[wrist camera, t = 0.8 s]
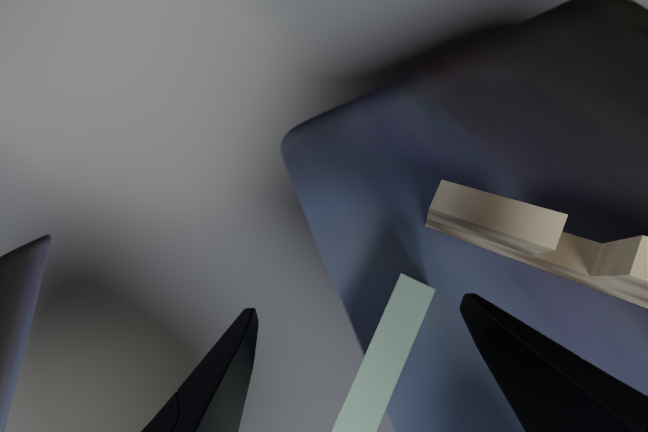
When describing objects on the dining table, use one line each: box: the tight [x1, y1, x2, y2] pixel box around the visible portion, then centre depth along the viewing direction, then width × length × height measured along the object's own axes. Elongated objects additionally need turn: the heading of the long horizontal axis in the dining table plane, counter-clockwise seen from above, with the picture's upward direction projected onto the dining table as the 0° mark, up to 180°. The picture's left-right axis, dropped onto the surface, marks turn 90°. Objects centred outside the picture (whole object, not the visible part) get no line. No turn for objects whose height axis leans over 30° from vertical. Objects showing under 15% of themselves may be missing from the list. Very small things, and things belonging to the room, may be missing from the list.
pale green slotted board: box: [332, 273, 435, 432], centre depth 18 cm, size 14×2×6 cm, turn 153°
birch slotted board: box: [425, 180, 648, 309], centre depth 16 cm, size 18×2×6 cm, turn 63°
